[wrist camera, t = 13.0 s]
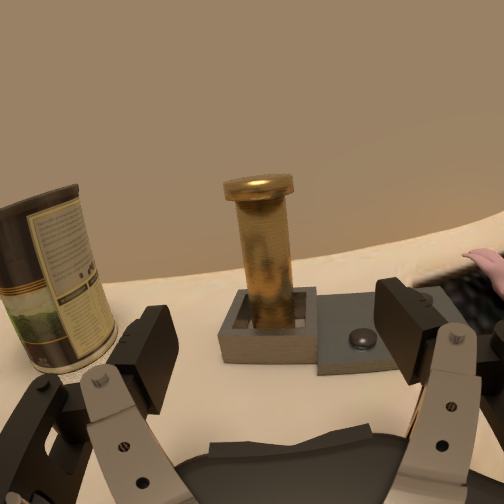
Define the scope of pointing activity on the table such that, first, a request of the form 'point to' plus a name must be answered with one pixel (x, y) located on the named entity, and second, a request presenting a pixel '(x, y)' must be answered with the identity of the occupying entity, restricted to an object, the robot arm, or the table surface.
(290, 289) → the hinge pin
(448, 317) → the grey tray fixture
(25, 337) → the coffee can
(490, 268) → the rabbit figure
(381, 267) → the table surface
